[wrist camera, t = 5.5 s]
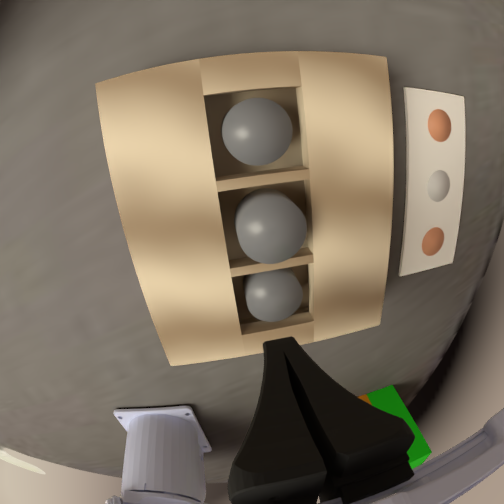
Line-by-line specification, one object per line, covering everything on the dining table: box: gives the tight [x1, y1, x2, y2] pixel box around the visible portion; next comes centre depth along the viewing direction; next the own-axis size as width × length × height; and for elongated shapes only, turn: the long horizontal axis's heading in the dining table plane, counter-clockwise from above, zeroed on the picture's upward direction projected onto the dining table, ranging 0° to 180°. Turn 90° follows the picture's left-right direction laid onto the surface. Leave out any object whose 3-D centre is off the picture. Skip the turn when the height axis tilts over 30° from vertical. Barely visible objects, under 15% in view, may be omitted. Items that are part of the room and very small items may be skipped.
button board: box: [95, 51, 394, 366], centre depth 16 cm, size 16×14×4 cm
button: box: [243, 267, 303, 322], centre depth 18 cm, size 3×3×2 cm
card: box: [398, 87, 465, 277], centre depth 19 cm, size 14×6×1 cm, turn 7°
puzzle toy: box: [358, 385, 431, 469], centre depth 26 cm, size 10×10×10 cm
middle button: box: [234, 188, 307, 264], centre depth 15 cm, size 3×3×2 cm
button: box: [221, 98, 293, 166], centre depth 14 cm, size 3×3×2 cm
